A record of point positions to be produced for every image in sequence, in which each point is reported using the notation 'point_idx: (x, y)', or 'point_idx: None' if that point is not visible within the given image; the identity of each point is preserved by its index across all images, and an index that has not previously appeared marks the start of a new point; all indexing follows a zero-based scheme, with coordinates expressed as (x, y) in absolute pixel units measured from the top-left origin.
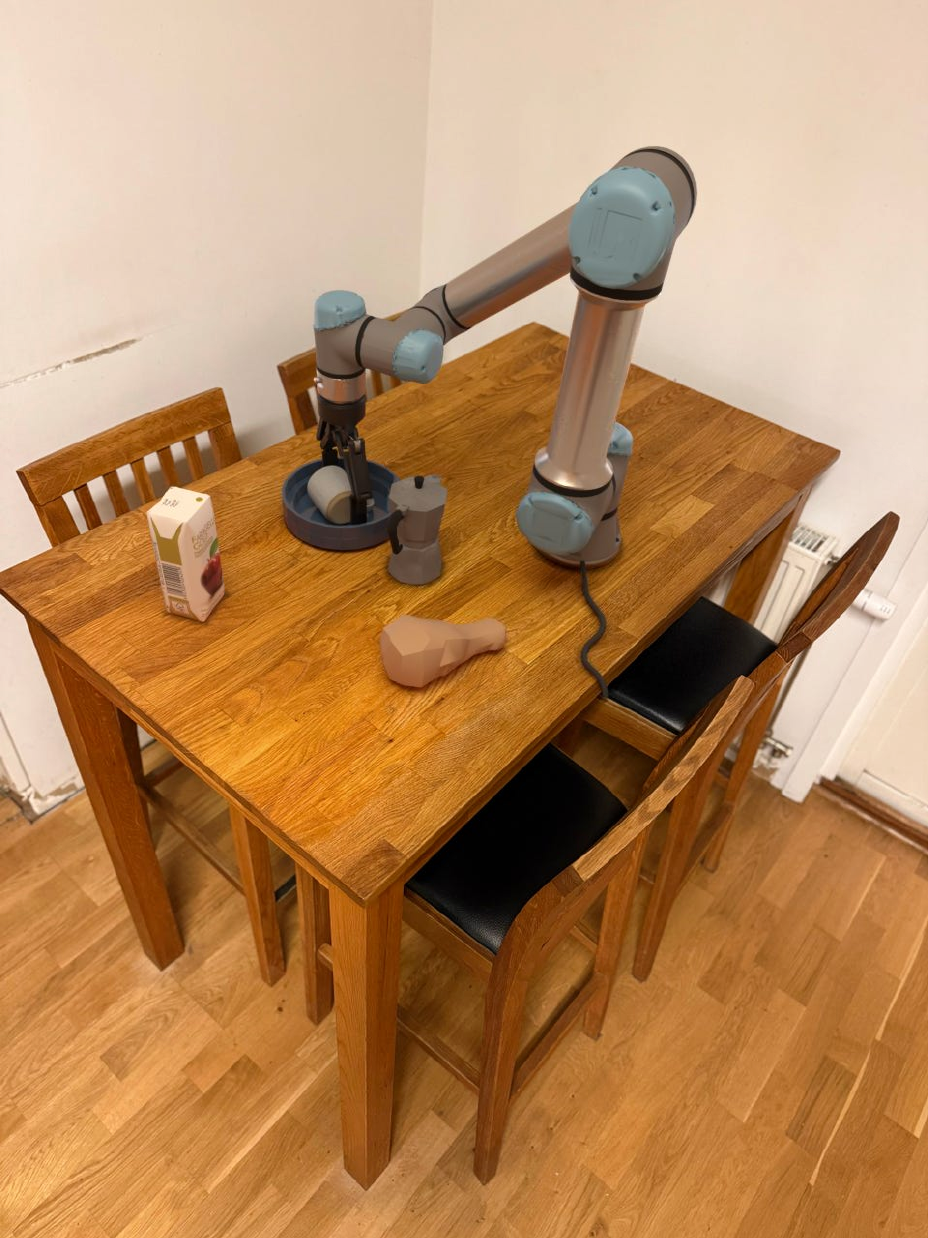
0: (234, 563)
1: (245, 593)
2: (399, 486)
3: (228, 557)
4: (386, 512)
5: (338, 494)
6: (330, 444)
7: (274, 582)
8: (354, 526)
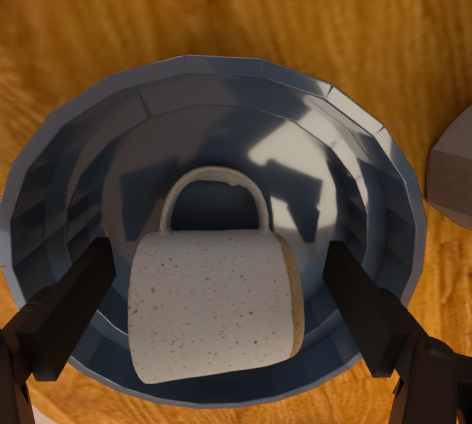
0: (272, 410)
1: (342, 410)
2: None
3: (254, 413)
4: (269, 137)
5: (292, 355)
6: (27, 413)
7: (344, 381)
8: None
